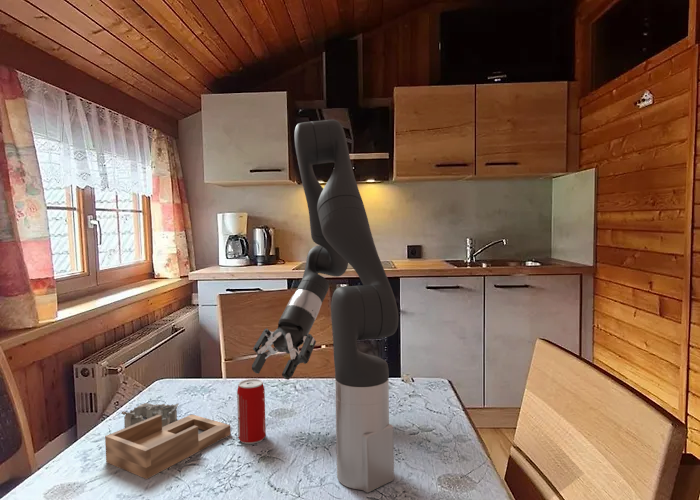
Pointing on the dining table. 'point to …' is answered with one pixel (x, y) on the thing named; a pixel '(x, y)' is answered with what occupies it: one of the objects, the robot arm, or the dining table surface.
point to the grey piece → (151, 413)
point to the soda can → (251, 411)
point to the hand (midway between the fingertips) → (269, 374)
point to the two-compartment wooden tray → (161, 443)
